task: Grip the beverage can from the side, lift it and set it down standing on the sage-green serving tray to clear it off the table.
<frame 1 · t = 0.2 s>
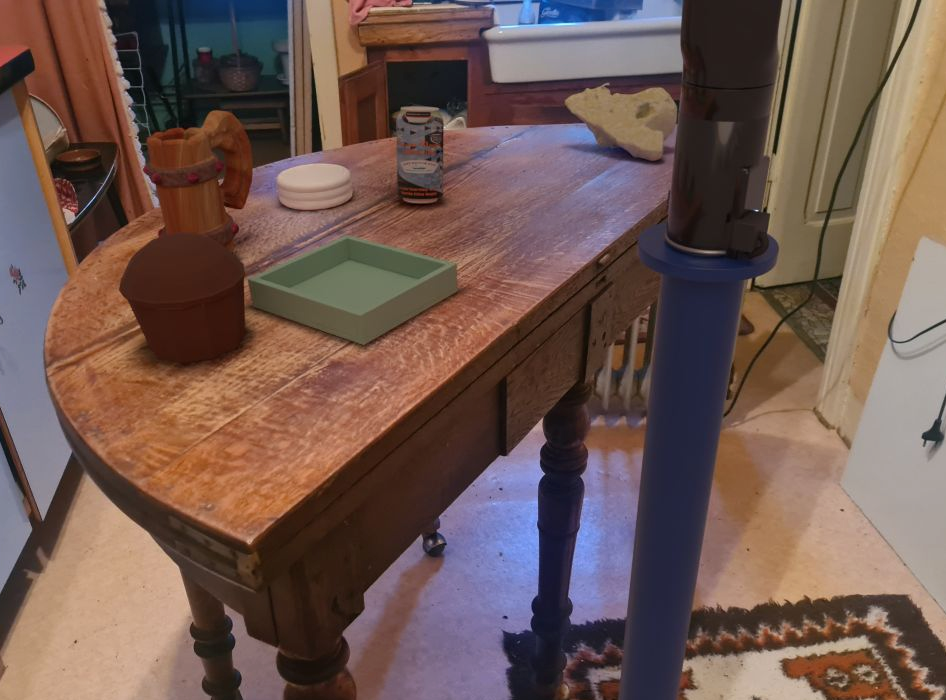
tray: (356, 299, 89), on the table
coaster: (316, 200, 116), on the table
cheese: (615, 153, 130), on the table
muffin: (198, 342, 82), on the table
mug: (220, 253, 101), on the table
beverage can: (422, 202, 114), on the table
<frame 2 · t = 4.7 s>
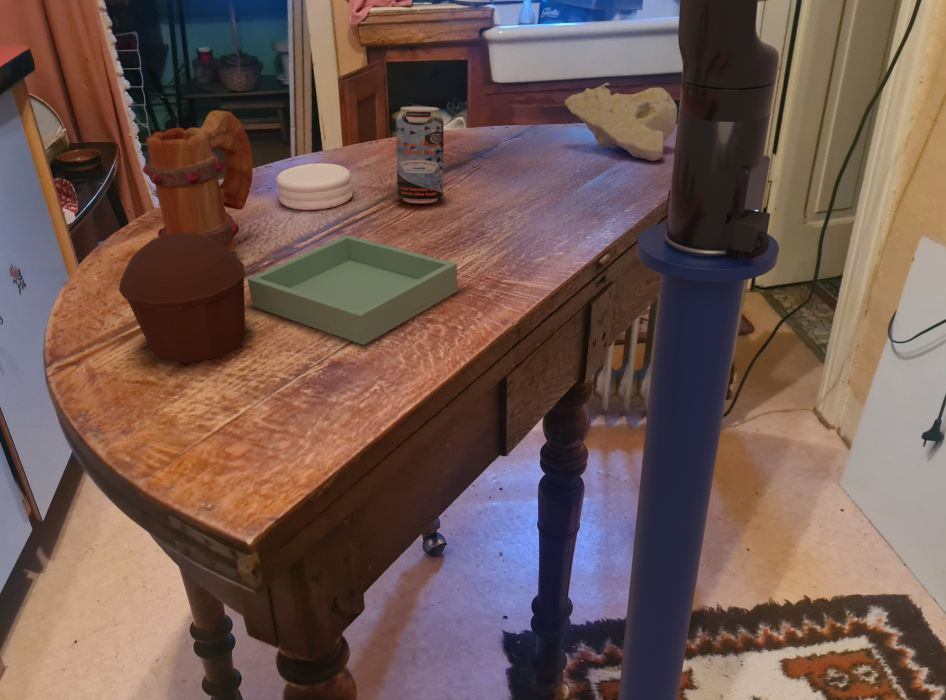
nothing on the table moved.
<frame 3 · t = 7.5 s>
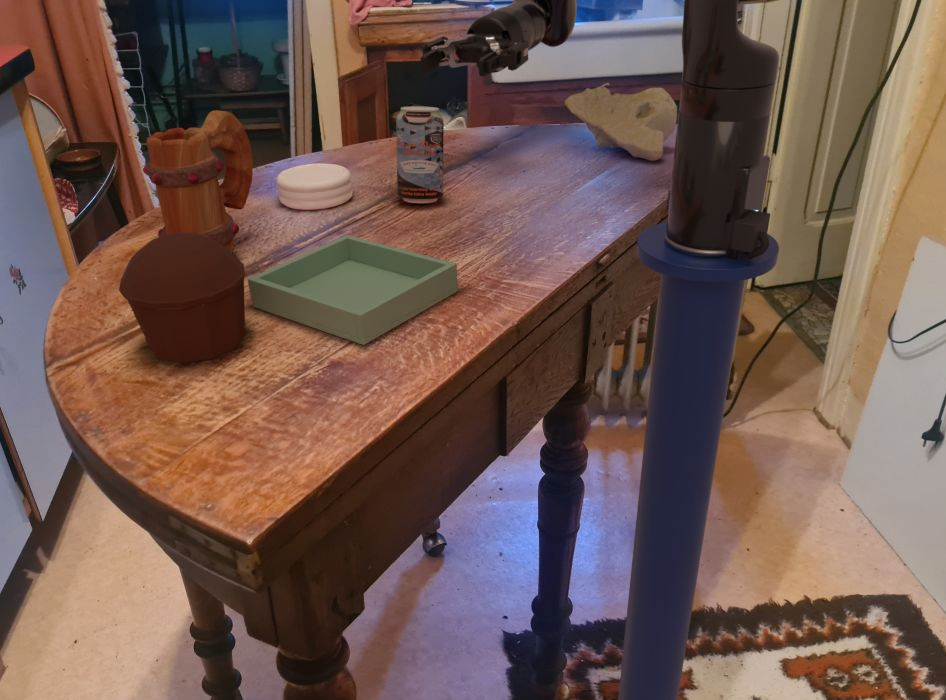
hand: (452, 66, 114), 15 cm above the table, tool horizontal, fingers open, 8 cm apart
nothing on the table moved.
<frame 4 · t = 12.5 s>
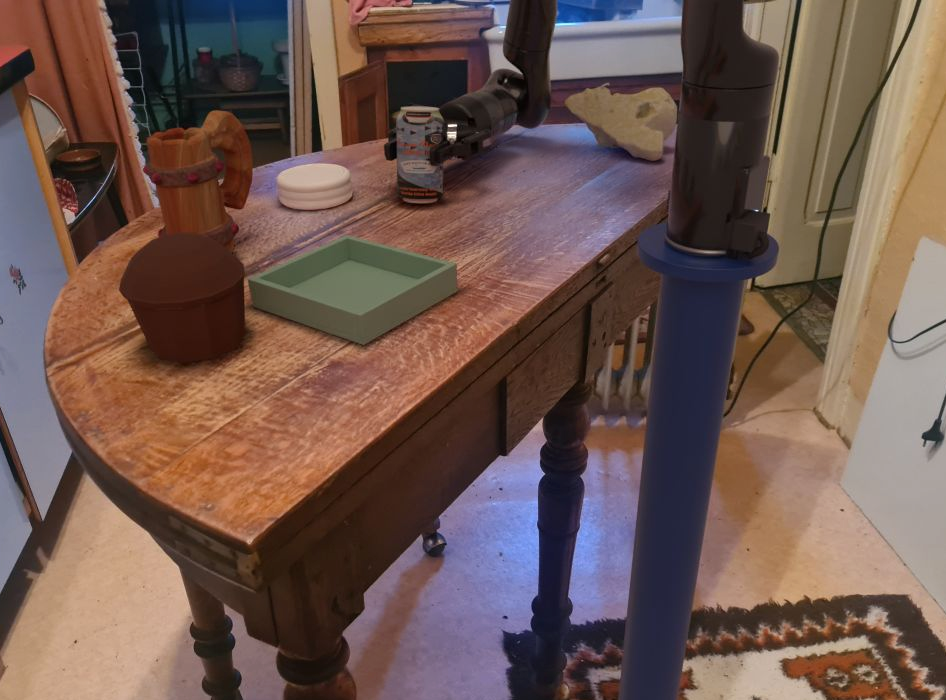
hand: (409, 155, 109), 7 cm above the table, tool horizontal, fingers closed on beverage can, 6 cm apart
beverage can: (422, 202, 114), on the table, touching gripper
everything else where it was.
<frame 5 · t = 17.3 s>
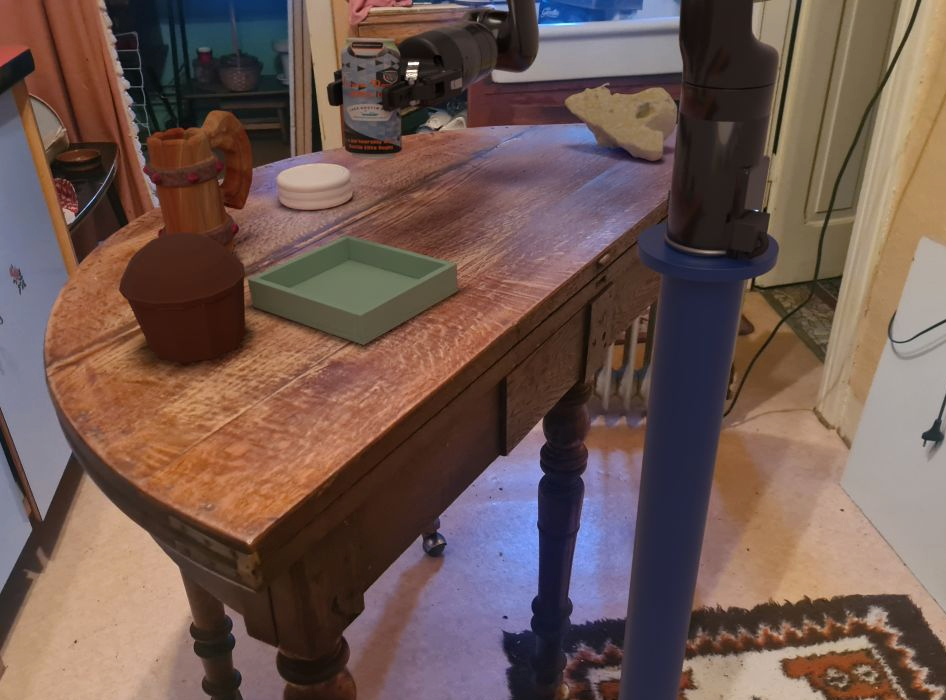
hand: (358, 98, 87), 18 cm above the table, tool horizontal, fingers closed on beverage can, 6 cm apart
beverage can: (377, 159, 93), point 11 cm above the table, touching gripper
everything else where it was.
when the fingers open (7 cm above the table, at t = 22.2 s): beverage can stays where it is, resting on tray.
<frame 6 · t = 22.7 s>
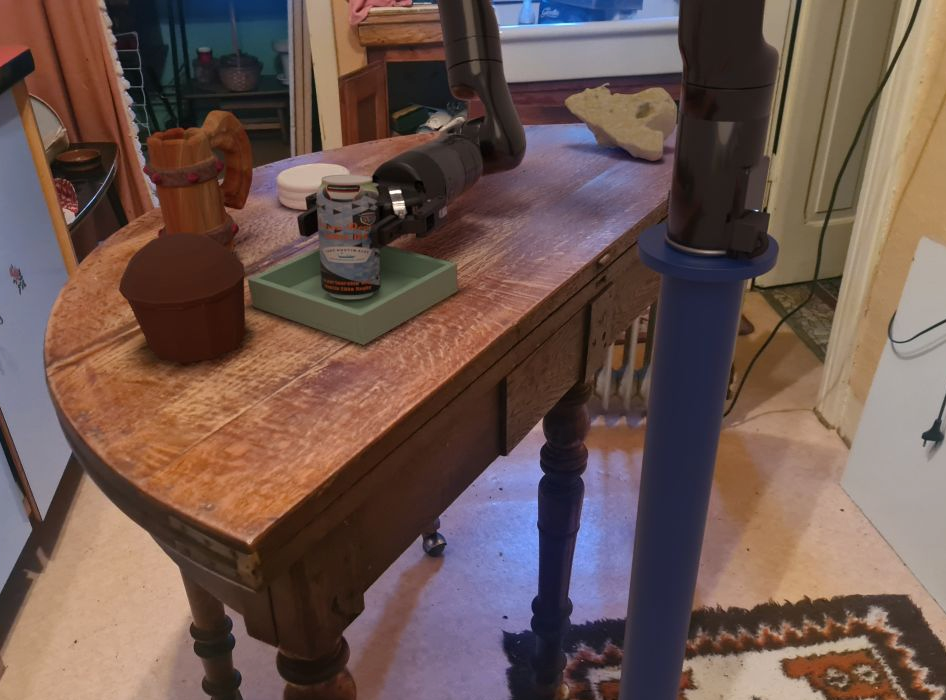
hand: (337, 233, 83), 8 cm above the table, tool horizontal, fingers open, 8 cm apart
beverage can: (355, 295, 89), resting on tray
everything else where it was.
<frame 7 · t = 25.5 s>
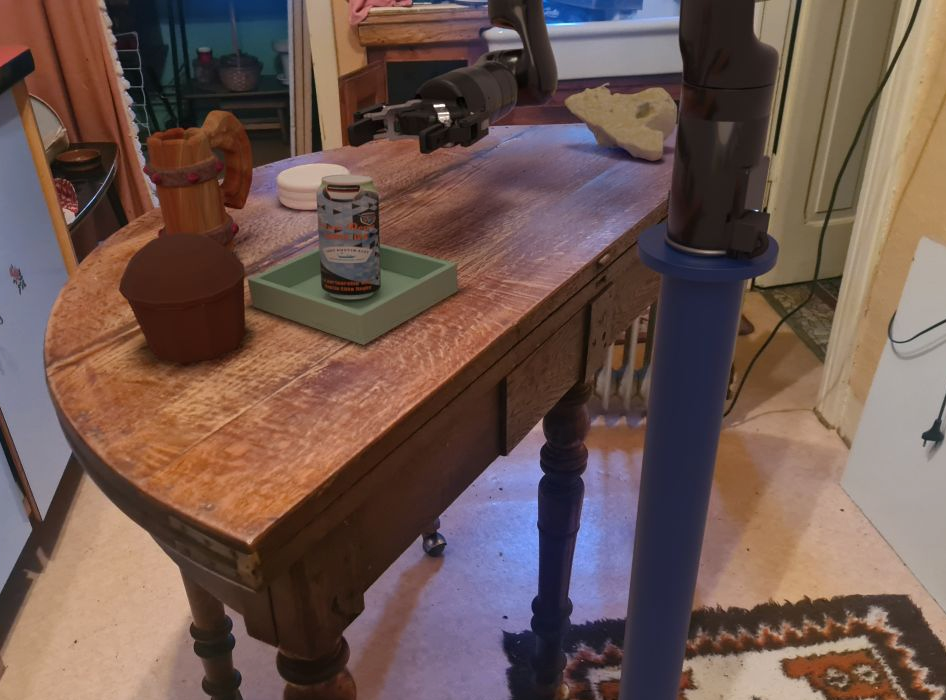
hand: (386, 140, 87), 14 cm above the table, tool horizontal, fingers open, 8 cm apart
nothing on the table moved.
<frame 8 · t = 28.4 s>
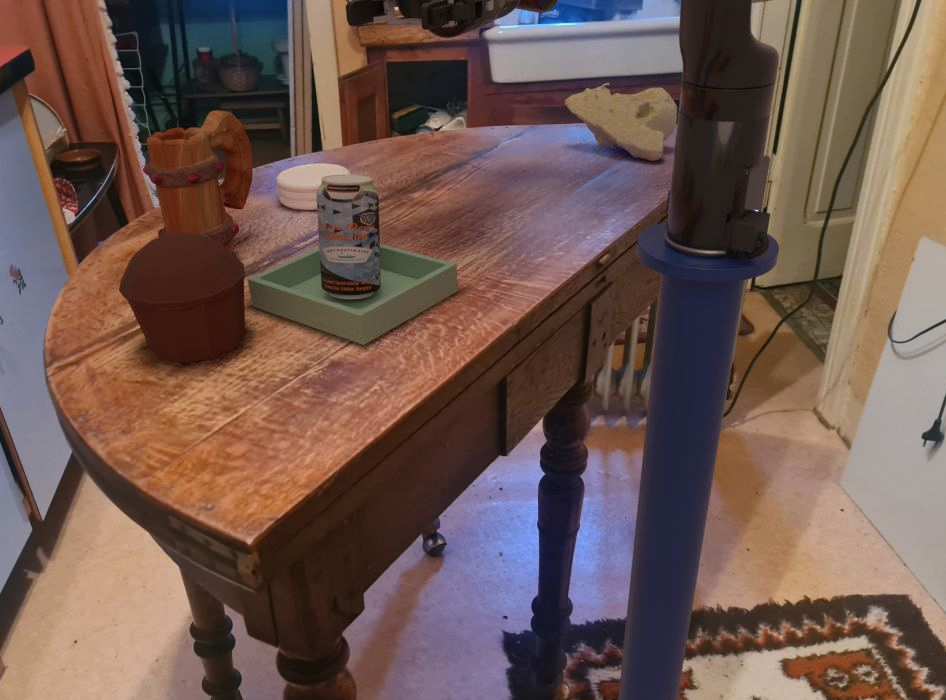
hand: (386, 16, 83), 25 cm above the table, tool horizontal, fingers open, 8 cm apart
nothing on the table moved.
at the end: beverage can inside the target area in the tray (0.1 cm from its centre), point 0.4 cm above the tray's base; beverage can tilted 0°; the gripper is holding nothing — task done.
